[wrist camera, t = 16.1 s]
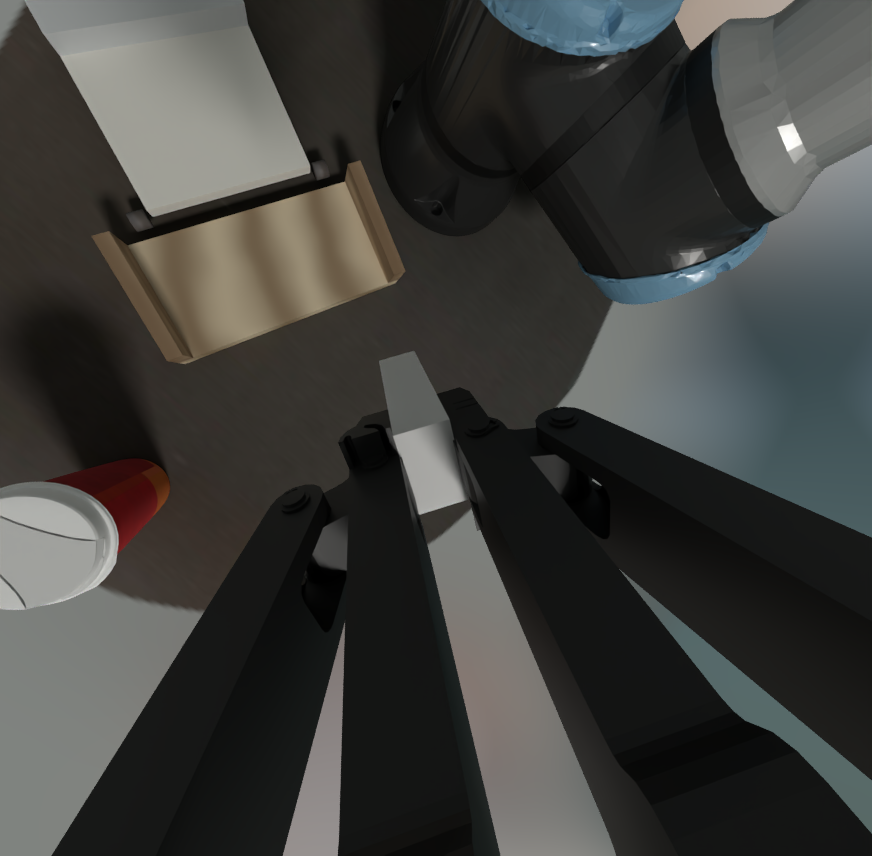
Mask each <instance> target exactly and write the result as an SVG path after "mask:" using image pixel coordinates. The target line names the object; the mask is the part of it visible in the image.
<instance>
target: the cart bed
mask: <svg viewBox="0 0 872 856" xmlns="http://www.w3.org/2000/svg"><path fill="white" fill-rule="evenodd" d="M311 168H312V172H313V174H314V177H315V179H316V180H321V179H324V178H328V177H329V176H330V175H329V170H328V167H327V164H326V162H325V161H324V159H323V160H319V161H316V162H312V163H311ZM126 215H127V217H128V219H129V221H130V222H131V224H132V225H133V227H134V228H135V229H136V230H137V231H138V232H140V231H143V230H147V229H150V228H154V227H153V225H152V223H151V221H150V219H149V218H148V216H147V215H146V213H145V212H144V211H143V209H140V210H136V211H133V212H129V213H126ZM92 238H93V239H94V241H95V243H96V244H97V246H98V248H99V249H100V251H101V253H102V254H103V256H104V258H105V259H106V261H107V263H108V264H109V266H110V267H111V269H112V271H113V272H114V274H115V276H116V277H117V279H118V281H119V282H120V284H121V286H122V287H123V289H124V291H125V292H126V294H127V295H128V297H129V299H130V300H131V302H132V304H133V305H134V307H135V309H136V310H137V312H138V314H139V315H140V317H141V319H142V320H143V322H144V323H145V325H146V327H147V328H148V330H149V332H150V333H151V335H152V337H153V338H154V340H155V342H156V343H157V345H158V347H159V348H160V350H161V351H162V353H163V355H164V356H165V358H166V360H167V361H170V362H176V363H182V364H186V363H189V362H192V361H194V360H197V359H199V358H202V357H205V356H207V355H210V354H212V353H215V352H218V351H220V350H223V349H225V348H228V347H231V346H233V345H236V344H238V343H241V342H244V341H246V340H249V339H251V338H254V337H257V336H259V335H262V334H264V333H267V332H270V331H272V330H275V329H277V328H280V327H283V326H285V325H288V324H290V323H293V322H296V321H298V320H301V319H303V318H306V317H309V316H311V315H314V314H316V313H319V312H322V311H324V310H327V309H329V308H332V307H335V306H337V305H340V304H342V303H345V302H348V301H350V300H353V299H355V298H358V297H361V296H363V295H366V294H368V293H371V292H374V291H376V290H379V289H381V288H384V287H387V286H389V285H392V284H395V283H396V282H397V280H398V279H399V278H400V277H401V276H402V275H403V273H404V272H405V269H404V267H403V264H402V262H401V259H400V257H399V254H398V252H397V249H396V247H395V244H394V242H393V240H392V237H391V235H390V232H389V230H388V227H387V225H386V222H385V220H384V217H383V215H382V213H381V210H380V208H379V205H378V203H377V200H376V198H375V195H374V193H373V191H372V188H371V186H370V183H369V181H368V178H367V176H366V173H365V171H364V168H363V166H362V164H361V161H357V162H353V163H350V164H348V167H347V172H346V178H345V182H342V183H338V184H335V185H332V186H328V187H325V188H321V189H318V190H315V191H311V192H308V193H304V194H301V195H298V196H294V197H291V198H287V199H284V200H281V201H277V202H274V203H270V204H267V205H264V206H260V207H257V208H253V209H250V210H247V211H243V212H240V213H236V214H233V215H230V216H226V217H223V218H219V219H216V220H213V221H209V222H206V223H202V224H199V225H196V226H192V227H189V228H185V229H182V230H179V231H175V232H172V233H168V234H165V235H162V236H158V237H155V238H151V239H148V240H145V241H141V242H138V243H134V244H131V245H126V244H125V243H124V242H122V241H121V240H120V239H118V238H117V237H116V236H115V235H113V234H112V233H111V232H109V231H108V232H104V233H101V234H97V235H94V236H92Z"/></svg>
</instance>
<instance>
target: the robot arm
mask: <svg viewBox="0 0 872 856" xmlns="http://www.w3.org/2000/svg"><path fill="white" fill-rule="evenodd" d="M683 1H684V0H447V1H446V4H445V7H444V10H443V13H442V15H441V18H440V21H439V24H438V27H437V30H436V33H435V36H434V38H433V41H432V44H431V47H430V50H429V53H428V56H427V59H426V60H425V61H424V62H423V63H422V64H421V65H420V66H419V67H418V68H417V69H416V70H415V71H414V72H413V73H412V74H411V75H410V76H409V77H408V78H407V79H406V80H405V81H404V82H403V83H402V85H401V86H400V87H399V88H398V90H397V91H396V93H395V94H394V96H393V98H392V100H391V102H390V104H389V107H388V110H387V113H386V117H385V120H384V124H383V127H382V132H381V142H380V151H381V160H382V165H383V170H384V173H385V176H386V179H387V182H388V184H389V186H390V188H391V190H392V192H393V194H394V196H395V197H396V199H397V200H398V202H399V203H400V205H401V206H402V207H403V208H404V210H405V211H406V212H407V213H408V214H409V215H410V216H411V217H412V218H413V219H415V220H416V221H417V222H418V223H420V224H421V225H423V226H424V227H426V228H428V229H430V230H432V231H434V232H437V233H440V234H444V235H449V236H464V235H469V234H473V233H475V232H478V231H480V230H482V229H483V228H485V227H486V226H487V225H489V224H490V223H491V222H492V221H493V220H494V219H495V218H497V217H498V216H499V215H500V214H501V213H502V211H503V210H504V209H505V208H506V206H507V205H508V203H509V202H510V200H511V198H512V196H513V194H514V191H515V189H516V185H517V183H518V181H519V179H520V176H521V177H522V179H523V180H524V182H525V183H526V185H527V186H528V188H529V189H530V191H531V193H532V194H533V195H534V197H535V198H536V200H537V201H538V203H539V204H540V206H541V207H542V208H543V210H544V211H545V213H546V214H547V216H548V217H549V219H550V220H551V222H552V223H553V224H554V226H555V227H556V229H557V230H558V232H559V233H560V235H561V236H562V237H563V239H564V240H565V242H566V243H567V245H568V246H569V248H570V249H571V251H572V252H573V253H574V255H575V256H576V258H577V259H578V265H579V267H580V268H581V270H582V271H583V273H584V274H586V275H587V276H589V277H590V278H591V279H592V280H593V282H594V283H595V284H596V285H597V287H598V288H599V289H600V291H601V292H602V293H603V294H604V295H605V296H606V297H608V298H610V299H612V300H614V301H616V302H619V303H623V304H647V303H653V302H658V301H662V300H666V299H670V298H673V297H675V296H679V295H681V294H684V293H687V292H690V291H692V290H694V289H697V288H699V287H701V286H703V285H705V284H707V283H709V282H711V281H713V280H715V279H716V275H717V273H720V272H723V271H728V270H731V269H733V268H734V267H736V266H737V265H739V264H740V263H741V262H743V261H744V260H745V259H746V258H748V257H749V256H750V255H751V254H752V253H753V252H754V251H755V249H756V248H757V247H758V246H759V245H760V244H761V243H762V241H763V239H764V237H765V235H766V233H767V228H768V225H769V222H771V221H773V220H775V219H777V218H779V217H781V216H784V215H786V214H788V213H790V212H791V211H793V210H794V208H795V207H796V206H797V204H798V203H799V201H800V200H801V198H802V197H803V195H804V194H805V192H806V191H807V189H808V188H809V186H810V185H811V184H812V182H813V181H814V179H815V178H816V177H817V175H818V174H820V173H821V172H822V171H823V169H825V168H826V167H828V166H830V165H832V164H834V163H836V162H838V161H840V160H842V159H844V158H846V157H848V156H850V155H852V154H854V153H856V152H858V151H860V150H862V149H864V148H866V147H868V146H870V145H872V0H794V1H793V2H792V3H790V4H789V5H788V6H787V7H786V8H784V9H783V10H782V11H780V12H779V13H777V14H775V15H773V16H769V17H767V18H742V19H729V20H727V21H726V22H725V23H723V24H722V25H721V26H719V27H718V28H717V29H716V30H715V31H714V32H713V33H711V34H710V35H709V36H708V37H707V38H706V39H705V40H704V41H703V42H701V43H700V44H699V45H698V46H697V47H696V48H695V49H693V50H692V51H691V50H690V49H689V48H688V46H687V45H686V43H685V40H684V39H683V36H682V35H681V32H680V30H679V28H678V26H677V23H676V21H675V19H674V18H675V16H676V15H677V13H678V12H679V10H680V7H681V4H682V2H683ZM379 363H380V369H381V374H382V379H383V385H384V390H385V396H386V401H387V407H388V410H384V411H381V412H377V413H374V414H371V415H367V416H364V417H362V418H361V420H360V421H359V423H358V424H357V426H356V427H354V428H352V429H350V430H349V431H347V432H346V433H345V434H344V435H343V436H342V437H341V438H340V440H339V442H338V443H339V446H340V448H341V450H342V453H343V455H344V458H345V460H346V462H347V465H348V467H349V469H350V471H349V478H348V479H347V480H346V481H345V482H343V483H342V484H340V485H338V486H337V487H335V488H333V489H331V490H329V491H327V492H325V493H323V491H322V489H321V488H320V487H319V486H317V485H303V486H299V487H295V488H293V489H291V490H289V491H287V492H285V493H284V494H283V495H282V496H280V497H279V498H278V499H276V501H275V502H274V503H273V504H272V505H271V506H270V508H269V510H268V511H267V513H266V514H265V516H264V518H263V519H262V521H261V522H260V524H259V526H258V527H257V529H256V530H255V532H254V534H253V535H252V537H251V538H250V540H249V542H248V543H247V545H246V546H245V548H244V550H243V551H242V553H241V554H240V556H239V557H238V559H237V561H236V562H235V564H234V565H233V567H232V569H231V570H230V572H229V573H228V575H227V577H226V578H225V580H224V581H223V583H222V585H221V586H220V588H219V589H218V591H217V593H216V594H215V596H214V597H213V599H212V601H211V602H210V604H209V605H208V607H207V609H206V610H205V612H204V613H203V615H202V617H201V618H200V620H199V621H198V623H197V625H196V626H195V628H194V629H193V631H192V633H191V634H190V636H189V637H188V639H187V640H186V642H185V644H184V645H183V647H182V648H181V650H180V652H179V653H178V655H177V657H176V658H175V660H174V661H173V663H172V664H171V666H170V668H169V669H168V671H167V672H166V674H165V676H164V677H163V679H162V681H161V682H160V684H159V685H158V687H157V689H156V690H155V691H154V693H153V695H152V696H151V698H150V699H149V701H148V703H147V704H146V706H145V707H144V709H143V711H142V712H141V714H140V715H139V717H138V719H137V720H136V722H135V723H134V725H133V727H132V729H131V730H130V731H129V733H128V735H127V736H126V738H125V739H124V741H123V742H122V744H121V746H120V747H119V749H118V751H117V752H116V754H115V755H114V757H113V758H112V760H111V762H110V763H109V765H108V766H107V768H106V770H105V771H104V773H103V774H102V776H101V778H100V779H99V781H98V782H97V784H96V786H95V787H94V789H93V790H92V792H91V794H90V795H89V797H88V799H87V800H86V801H85V803H84V805H83V807H82V808H81V809H80V811H79V813H78V814H77V816H76V818H75V819H74V821H73V822H72V824H71V825H70V827H69V829H68V830H67V832H66V834H65V835H64V837H63V838H62V840H61V841H60V843H59V845H58V846H57V848H56V849H55V851H54V853H53V854H52V856H283V852H284V848H285V845H286V841H287V837H288V833H289V829H290V826H291V822H292V818H293V814H294V811H295V807H296V803H297V799H298V796H299V792H300V788H301V784H302V780H303V777H304V773H305V769H306V765H307V762H308V758H309V754H310V751H311V746H312V743H313V739H314V735H315V732H316V728H317V724H318V720H319V717H320V713H321V709H322V705H323V702H324V697H325V694H326V690H327V686H328V683H329V679H330V675H331V672H332V668H333V664H334V660H335V656H336V653H337V649H338V645H339V641H340V637H341V634H342V630H343V626H344V623H345V648H344V650H345V651H344V683H343V686H344V687H343V719H342V756H341V791H340V826H339V846H338V856H500V852H499V848H498V843H497V839H496V835H495V831H494V826H493V822H492V818H491V814H490V809H489V805H488V801H487V797H486V792H485V788H484V784H483V780H482V776H481V771H480V767H479V763H478V758H477V754H476V750H475V746H474V742H473V737H472V733H471V729H470V724H469V720H468V716H467V712H466V707H465V703H464V699H463V695H462V690H461V686H460V682H459V677H458V673H457V669H456V665H455V660H454V656H453V652H452V648H451V644H450V639H449V635H448V631H447V626H446V623H445V618H444V614H443V609H442V605H441V601H440V597H439V593H438V588H437V584H436V580H435V575H434V571H433V567H432V563H431V558H430V554H429V550H428V546H427V541H426V537H425V533H424V529H423V525H422V522H421V519H420V516H419V515H420V514H423V513H426V512H429V511H433V510H436V509H439V508H442V507H445V506H449V505H452V504H455V503H458V502H462V501H465V500H468V496H467V493H468V495H469V498H470V502H471V507H472V511H473V515H474V520H475V524H476V528H477V531H478V530H481V532H482V535H483V537H484V539H485V542H486V544H487V546H488V549H489V551H490V554H491V556H492V558H493V561H494V563H495V565H496V568H497V570H498V573H499V575H500V577H501V580H502V582H503V584H504V587H505V589H506V591H507V594H508V596H509V599H510V601H511V603H512V606H513V608H514V610H515V613H516V615H517V617H518V620H519V622H520V625H521V627H522V629H523V632H524V634H525V636H526V639H527V641H528V644H529V646H530V648H531V650H532V653H533V655H534V658H535V660H536V662H537V665H538V667H539V670H540V672H541V674H542V677H543V679H544V681H545V684H546V686H547V688H548V691H549V693H550V696H551V698H552V700H553V703H554V705H555V707H556V710H557V712H558V715H559V717H560V719H561V722H562V724H563V726H564V729H565V731H566V733H567V735H568V738H569V740H570V743H571V745H572V747H573V750H574V752H575V755H576V757H577V759H578V762H579V764H580V766H581V769H582V771H583V774H584V776H585V778H586V780H587V783H588V785H589V788H590V790H591V793H592V795H593V797H594V800H595V802H596V804H597V807H598V809H599V812H600V814H601V816H602V819H603V821H604V823H605V826H606V828H607V831H608V833H609V836H610V838H611V841H612V844H613V847H614V850H615V853H616V856H872V834H871V832H870V831H869V830H868V829H867V828H866V827H865V826H864V824H863V823H862V822H861V821H860V820H859V819H858V817H857V816H856V815H855V814H854V813H853V812H852V811H851V810H850V808H849V807H848V806H847V805H846V804H845V802H844V801H843V800H842V799H841V798H840V797H839V795H838V794H837V793H836V792H835V791H834V790H833V789H832V787H831V786H830V785H829V784H828V783H827V782H826V781H825V780H824V778H823V777H821V776H820V774H819V773H818V772H817V771H816V770H815V769H814V768H813V767H812V766H811V765H810V764H809V763H808V762H807V761H806V760H805V759H804V758H803V757H802V756H801V755H800V754H799V753H798V752H797V751H796V750H795V749H794V748H792V747H791V746H790V745H788V744H787V743H786V742H785V741H783V740H782V739H781V738H780V737H778V736H777V735H775V734H774V733H773V732H771V731H769V730H766V729H764V728H761V727H759V726H757V725H754V724H752V723H749V722H747V721H745V720H744V719H742V718H741V717H740V716H739V715H737V714H736V713H735V712H734V711H733V710H732V709H731V708H730V707H729V706H728V705H727V704H726V702H725V701H724V700H723V699H722V698H721V697H720V696H719V694H718V693H717V692H716V690H715V689H714V688H713V687H712V685H711V684H710V683H709V682H708V681H707V679H706V678H705V677H704V675H703V674H702V673H701V672H700V670H699V669H698V668H697V667H696V665H695V664H694V663H693V662H692V660H691V659H690V658H689V657H688V655H687V654H686V653H685V651H684V650H683V649H682V648H681V646H680V645H679V644H678V643H677V641H676V640H675V639H674V638H673V636H672V635H671V634H670V633H669V631H668V630H667V629H666V628H665V626H664V625H663V624H662V623H661V621H660V620H659V619H658V617H657V616H656V615H655V614H654V612H653V611H652V610H651V609H650V607H649V606H648V605H647V604H646V602H645V601H644V600H643V599H642V597H641V596H640V595H639V594H638V592H637V591H636V590H635V589H634V587H633V586H632V585H631V584H630V582H629V581H628V580H627V578H626V577H625V576H624V575H623V574H622V572H624V573H625V574H626V575H627V576H628V577H630V578H631V579H632V580H633V581H635V582H636V583H637V584H638V585H639V586H640V587H642V588H643V589H644V590H645V591H646V592H648V593H649V594H650V595H651V596H652V597H653V598H655V599H656V600H657V601H658V602H659V603H661V604H662V605H663V606H664V607H665V608H667V609H668V610H669V611H670V612H671V613H673V614H674V615H675V616H676V617H677V618H679V619H680V620H681V621H682V622H683V623H684V624H686V625H687V626H688V627H689V628H691V629H692V630H693V631H694V632H695V633H696V634H698V635H699V636H700V637H701V638H702V639H704V640H705V641H706V642H707V643H708V644H710V645H711V646H712V647H713V648H714V649H716V650H717V651H718V652H719V653H720V654H722V655H723V656H724V657H725V658H726V659H728V660H729V661H730V662H731V663H732V664H734V665H735V666H736V667H737V668H738V669H739V670H741V671H742V672H743V673H744V674H745V675H747V676H748V677H749V678H750V679H751V680H753V681H754V682H755V683H756V684H757V685H759V686H760V687H761V688H762V689H763V690H765V691H766V692H767V693H768V694H769V695H770V696H772V697H773V698H774V699H775V700H777V701H778V702H779V703H780V704H781V705H782V706H784V707H785V708H786V709H787V710H788V711H790V712H791V713H792V714H793V715H795V716H796V717H797V718H798V719H799V720H800V721H802V722H803V723H804V724H805V725H806V726H808V727H809V728H810V729H811V730H812V731H814V732H815V733H816V734H817V735H818V736H820V737H821V738H822V739H823V740H824V741H825V742H827V743H828V744H829V745H831V747H833V748H834V749H835V750H836V751H837V752H839V753H840V754H841V755H842V756H843V757H845V758H846V759H847V760H848V761H849V762H851V763H852V764H853V765H854V766H855V767H857V768H858V769H859V770H860V771H861V772H862V773H864V774H865V775H866V776H867V777H868V778H870V779H871V780H872V538H871V537H869V536H867V535H865V534H862V533H860V532H858V531H856V530H853V529H851V528H849V527H846V526H844V525H842V524H839V523H837V522H835V521H833V520H830V519H828V518H826V517H824V516H822V515H819V514H817V513H815V512H812V511H810V510H808V509H806V508H803V507H801V506H799V505H797V504H794V503H792V502H790V501H787V500H785V499H783V498H780V497H778V496H776V495H774V494H772V493H769V492H767V491H765V490H763V489H760V488H758V487H756V486H754V485H751V484H749V483H747V482H744V481H742V480H740V479H738V478H736V477H733V476H731V475H729V474H726V473H724V472H722V471H719V470H717V469H715V468H713V467H711V466H708V465H706V464H704V463H702V462H699V461H697V460H695V459H693V458H690V457H688V456H686V455H683V454H681V453H679V452H677V451H674V450H672V449H670V448H667V447H665V446H663V445H661V444H659V443H656V442H654V441H652V440H649V439H647V438H645V437H643V436H640V435H638V434H636V433H633V432H631V431H629V430H627V429H625V428H622V427H620V426H618V425H615V424H613V423H611V422H609V421H606V420H604V419H602V418H600V417H597V416H595V415H593V414H590V413H588V412H586V411H584V410H581V409H577V408H571V407H560V408H558V407H557V408H553V409H550V410H547V411H545V412H543V413H542V414H540V415H539V416H538V417H537V419H536V420H535V421H536V428H530V429H519V430H512V429H507V427H506V426H505V425H504V424H503V423H502V422H501V421H500V420H498V419H495V418H491V417H488V416H487V414H486V413H485V412H484V410H483V409H482V408H481V406H480V405H479V404H478V402H477V401H476V400H475V399H474V397H473V396H472V394H471V393H470V391H468V390H465V389H462V388H460V387H459V388H456V389H452V390H449V391H446V392H442V393H439V394H436V392H435V390H434V388H433V387H432V385H431V383H430V381H429V379H428V377H427V375H426V373H425V371H424V369H423V367H422V365H421V363H420V361H419V359H418V358H417V356H416V354H415V352H414V351H412V352H408V353H405V354H401V355H398V356H394V357H391V358H387V359H384V360H380V361H379ZM592 478H593V479H595V480H596V481H597V482H599V483H600V484H601V485H602V486H600V485H598V484H596V483H595V482H593V481H592ZM466 491H467V492H466ZM619 569H620V570H621V571H622V572H621V571H620V570H619Z"/></svg>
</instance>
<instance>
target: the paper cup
mask: <svg viewBox="0 0 872 856" xmlns="http://www.w3.org/2000/svg"><path fill="white" fill-rule="evenodd" d="M169 492H170V482H169V479H168V476H167V475H166V473H165V472H164V470H163V469H162V468H160V467H159V466H158V465H156V464H155V463H153V462H151V461H148V460H144V459H136V458H132V459H124V460H119V461H115V462H111V463H107V464H103V465H100V466H96V467H92V468H89V469H85V470H82V471H78V472H74V473H71V474H67V475H64V476H60V477H57V478H53V479H50V480H46V481H43V482H26V483H18V484H14V485H10V486H6V487H2V488H0V609H6V610H24V609H30V608H33V607H37V606H41V605H48V604H53V603H57V602H62V601H64V600H67V599H70V598H73V597H75V596H77V595H79V594H81V593H83V592H85V591H87V590H90V589H92V588H95V587H96V586H97V585H98V584H100V583H101V582H102V581H103V580H104V579H105V578H106V577H107V575H108V574H109V573H110V572H111V570H112V569H113V567H114V565H115V564H116V558H117V554H118V553H119V552H120V551H121V550H122V549H123V548H124V547H125V546H126V545H127V543H128V542H129V541H130V540H131V539H132V538H133V537H134V536H135V535H136V534H137V533H138V532H139V531H140V530H141V529H142V527H143V526H144V525H145V524H146V523H147V522H148V521H149V520H150V519H151V518H152V517H153V516H154V514H155V513H156V512H157V511H158V510H159V509H160V508H161V507H162V505H163V504H164V503H165V501H166V499H167V497H168V495H169Z"/></svg>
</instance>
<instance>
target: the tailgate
mask: <svg viewBox="0 0 872 856" xmlns="http://www.w3.org/2000/svg"><path fill="white" fill-rule="evenodd" d="M24 1H25V2H26V4H27V6H28V8H29V9H30V11H31V13H32V15H33V17H34V18H35V20H36V22H37V24H38V25H39V27H40V29H41V31H42V33H43V34H44V36H45V37H46V38H47V39H48V41H49V42H50V43H51V45H52V46H53V47H54V49H55V50H56V51H57V53H58V54H59V55H60V57H61V59H62V60H63V62H64V64H65V66H66V67H67V69H68V71H69V73H70V75H71V76H72V78H73V80H74V82H75V83H76V85H77V87H78V89H79V91H80V92H81V94H82V96H83V98H84V100H85V101H86V103H87V105H88V107H89V108H90V110H91V112H92V114H93V116H94V117H95V119H96V121H97V123H98V125H99V126H100V128H101V130H102V132H103V133H104V135H105V137H106V139H107V141H108V142H109V144H110V146H111V148H112V150H113V151H114V153H115V155H116V157H117V158H118V160H119V162H120V164H121V166H122V167H123V169H124V171H125V173H126V174H127V176H128V178H129V180H130V182H131V183H132V185H133V187H134V189H135V191H136V192H137V194H138V196H139V198H140V199H141V201H142V203H143V205H144V207H145V208H146V210H147V211H148V212H149V214H150V215H151V216H152V217H154V216H158V215H162V214H165V213H169V212H172V211H176V210H179V209H183V208H187V207H190V206H194V205H197V204H201V203H204V202H208V201H212V200H215V199H219V198H222V197H226V196H229V195H233V194H237V193H240V192H244V191H247V190H251V189H254V188H258V187H262V186H265V185H269V184H272V183H276V182H279V181H283V180H286V179H290V178H294V177H297V176H301V175H304V174H308V173H310V164H309V162H308V160H307V157H306V155H305V153H304V150H303V148H302V146H301V144H300V141H299V139H298V137H297V135H296V132H295V130H294V128H293V126H292V123H291V121H290V119H289V116H288V114H287V112H286V110H285V107H284V105H283V103H282V101H281V98H280V96H279V94H278V92H277V89H276V87H275V85H274V83H273V80H272V78H271V76H270V73H269V71H268V69H267V67H266V64H265V62H264V60H263V58H262V55H261V53H260V51H259V49H258V46H257V44H256V42H255V39H254V37H253V35H252V33H251V30H250V28H249V26H248V21H247V15H246V10H245V4H244V1H243V0H24Z"/></svg>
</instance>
